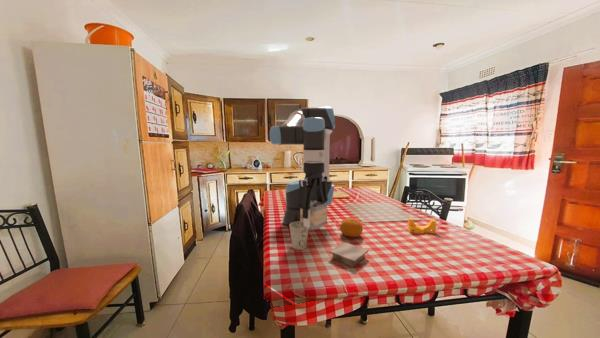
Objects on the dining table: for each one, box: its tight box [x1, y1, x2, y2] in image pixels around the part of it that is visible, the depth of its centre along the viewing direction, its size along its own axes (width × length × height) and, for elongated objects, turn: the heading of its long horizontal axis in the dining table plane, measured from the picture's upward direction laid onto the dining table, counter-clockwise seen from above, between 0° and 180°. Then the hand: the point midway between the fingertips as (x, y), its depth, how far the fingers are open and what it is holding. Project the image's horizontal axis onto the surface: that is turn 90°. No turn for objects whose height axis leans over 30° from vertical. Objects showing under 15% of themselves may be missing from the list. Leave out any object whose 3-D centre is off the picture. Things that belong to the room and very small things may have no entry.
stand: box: [328, 241, 369, 267], centre depth 88 cm, size 11×11×3 cm
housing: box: [300, 200, 328, 230], centre depth 82 cm, size 7×7×8 cm
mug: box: [288, 221, 309, 250], centre depth 99 cm, size 8×13×10 cm, turn 27°
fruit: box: [339, 217, 364, 238], centre depth 109 cm, size 10×10×8 cm
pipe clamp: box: [407, 217, 437, 234], centre depth 113 cm, size 12×4×6 cm, turn 74°
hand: (313, 223), depth 83 cm, fingers closed on housing, 7 cm apart
